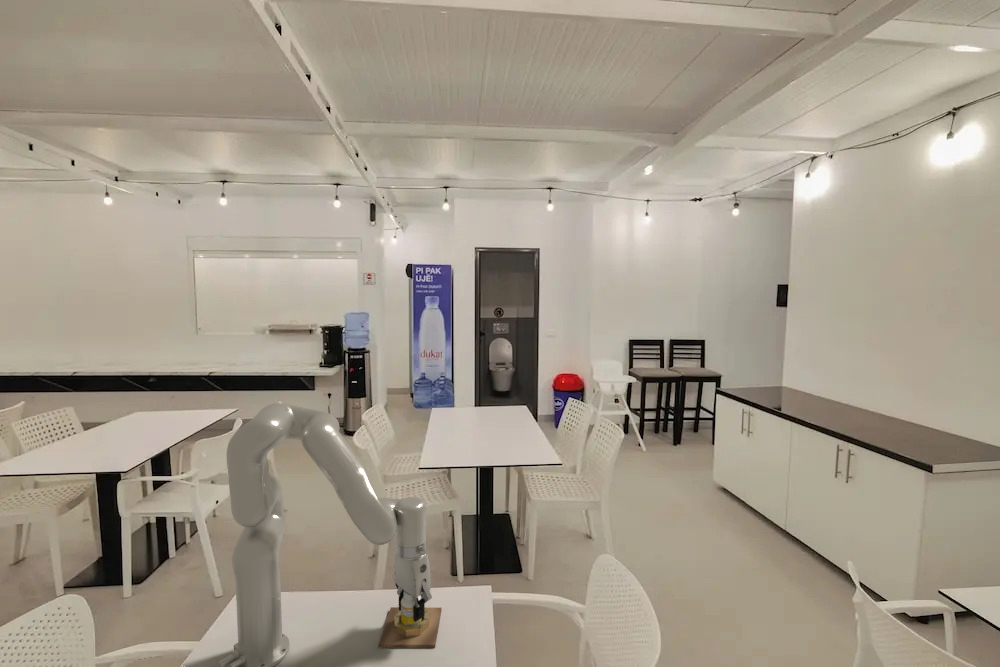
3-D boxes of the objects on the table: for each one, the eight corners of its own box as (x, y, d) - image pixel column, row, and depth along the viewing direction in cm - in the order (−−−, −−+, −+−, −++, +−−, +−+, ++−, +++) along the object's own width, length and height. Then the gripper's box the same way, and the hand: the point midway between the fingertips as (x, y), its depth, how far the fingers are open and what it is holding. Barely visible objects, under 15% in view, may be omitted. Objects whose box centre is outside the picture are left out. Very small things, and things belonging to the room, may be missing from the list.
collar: (413, 641, 120) (413, 634, 120) (387, 628, 124) (387, 621, 124) (435, 621, 127) (435, 614, 127) (410, 609, 132) (410, 602, 132)
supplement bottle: (408, 635, 122) (408, 599, 121) (396, 625, 126) (396, 590, 125) (425, 625, 126) (425, 590, 125) (413, 615, 130) (413, 581, 129)
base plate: (378, 647, 119) (378, 644, 119) (390, 610, 133) (390, 607, 133) (435, 647, 119) (435, 644, 119) (441, 610, 133) (441, 607, 133)
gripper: (444, 553, 121) (444, 621, 123) (402, 530, 132) (402, 592, 134) (421, 565, 116) (421, 636, 117) (379, 541, 127) (380, 605, 128)
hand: (411, 612), depth 126 cm, fingers closed on supplement bottle, 5 cm apart
